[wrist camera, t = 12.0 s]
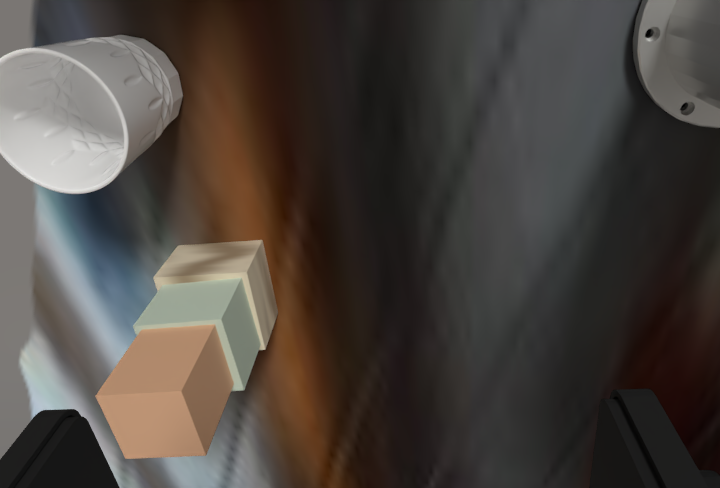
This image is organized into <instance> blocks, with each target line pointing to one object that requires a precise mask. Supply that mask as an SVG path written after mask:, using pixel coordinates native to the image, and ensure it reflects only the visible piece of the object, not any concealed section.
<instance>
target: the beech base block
mask: <svg viewBox="0 0 720 488" xmlns="http://www.w3.org/2000/svg"><path fill="white" fill-rule="evenodd" d="M153 278H154V281H155V284H156V287H157V290H158V291H159V290H160V288H161V287H162V285H168V284H179V283H190V282H200V281H211V280H222V279H233V278H242V280H243V284H244V287H245V291H246V294H247V298H248V301H249V305H250V308H251V311H252V315H253V318H254V322H255V325H256V329H257V332H258V336H259V339H260V343H261V345H260V348H259V350H265V349H266V346H267V344H268V341H269V338H270V335H271V332H272V329H273V326H274V323H275V320H276V318H277V315H278V310H277V305H276V300H275V296H274V291H273V286H272V282H271V277H270V273H269V268H268V263H267V259H266V254H265V249H264V245H263V240H255V241H240V242H225V243H210V244H194V245H179V246H177V247H176V249H175V250H174V251H173V253H172V254H171V255H170V257H169V258H168V259H167V260H166V262H165V263H164V264H163V266H162V267H161V268H160V270H159V271H158V272H157V273H156V275H155V276H154V277H153Z"/></svg>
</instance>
